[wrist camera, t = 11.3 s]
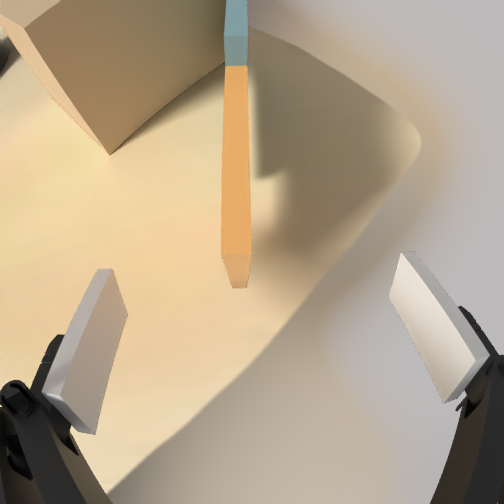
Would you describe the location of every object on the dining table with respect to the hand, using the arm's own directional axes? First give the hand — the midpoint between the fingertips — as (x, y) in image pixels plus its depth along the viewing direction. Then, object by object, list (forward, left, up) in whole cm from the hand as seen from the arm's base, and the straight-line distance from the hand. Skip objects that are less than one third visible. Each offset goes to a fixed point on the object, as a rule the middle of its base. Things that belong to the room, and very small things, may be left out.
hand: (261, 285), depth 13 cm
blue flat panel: (-10, +4, -5) cm, 12 cm away
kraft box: (-23, -1, -7) cm, 24 cm away
